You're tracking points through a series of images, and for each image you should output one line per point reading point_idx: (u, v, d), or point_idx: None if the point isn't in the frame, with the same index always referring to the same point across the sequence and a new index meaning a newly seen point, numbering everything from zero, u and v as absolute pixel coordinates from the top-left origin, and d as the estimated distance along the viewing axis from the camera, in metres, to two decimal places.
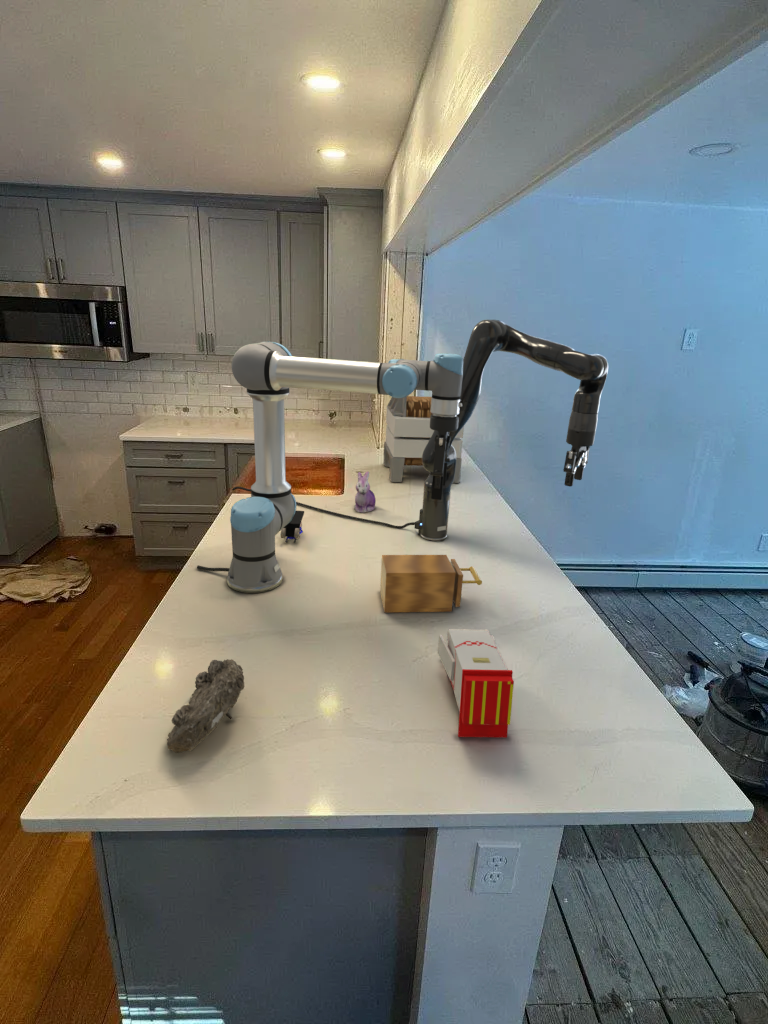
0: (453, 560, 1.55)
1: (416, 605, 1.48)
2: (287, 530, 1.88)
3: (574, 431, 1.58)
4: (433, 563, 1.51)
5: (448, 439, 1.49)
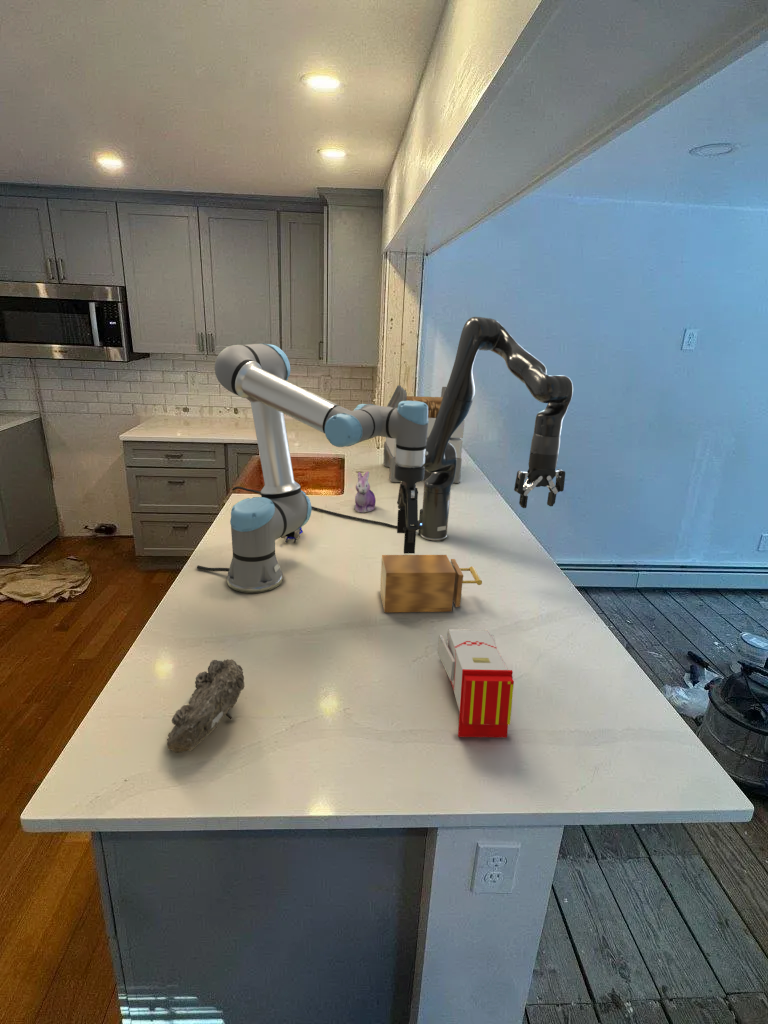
0: (453, 560, 1.55)
1: (416, 605, 1.48)
2: None
3: (530, 452, 1.54)
4: (433, 563, 1.51)
5: (416, 489, 1.42)
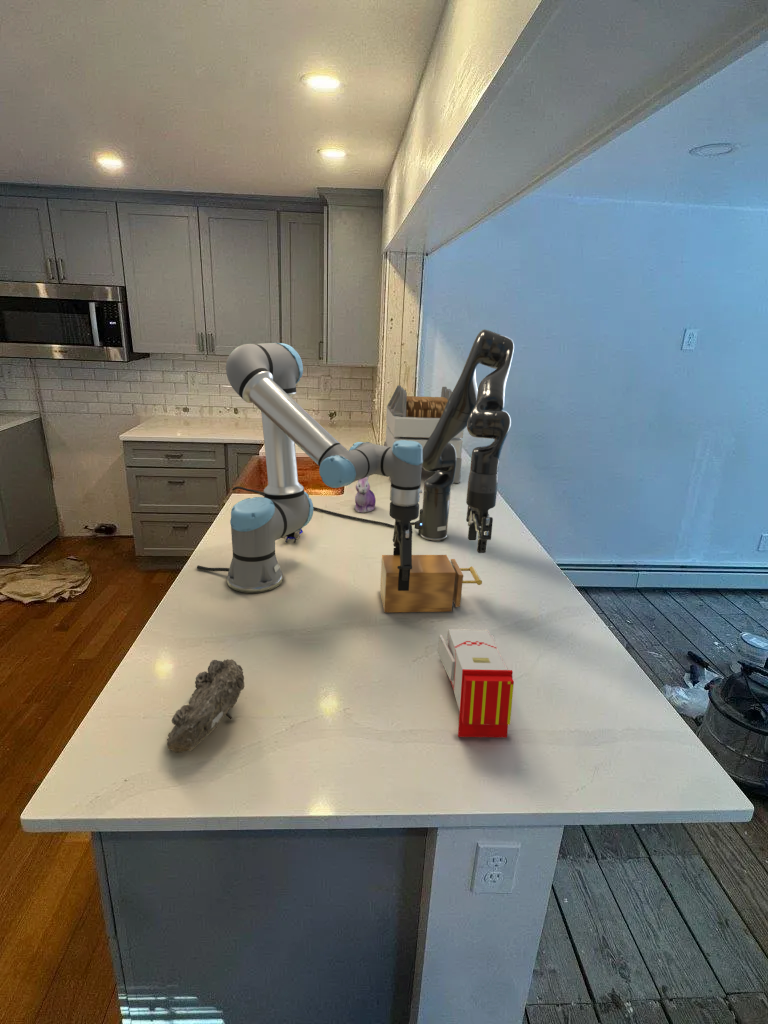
0: (453, 560, 1.55)
1: (416, 605, 1.48)
2: None
3: None
4: (433, 563, 1.51)
5: (410, 527, 1.44)
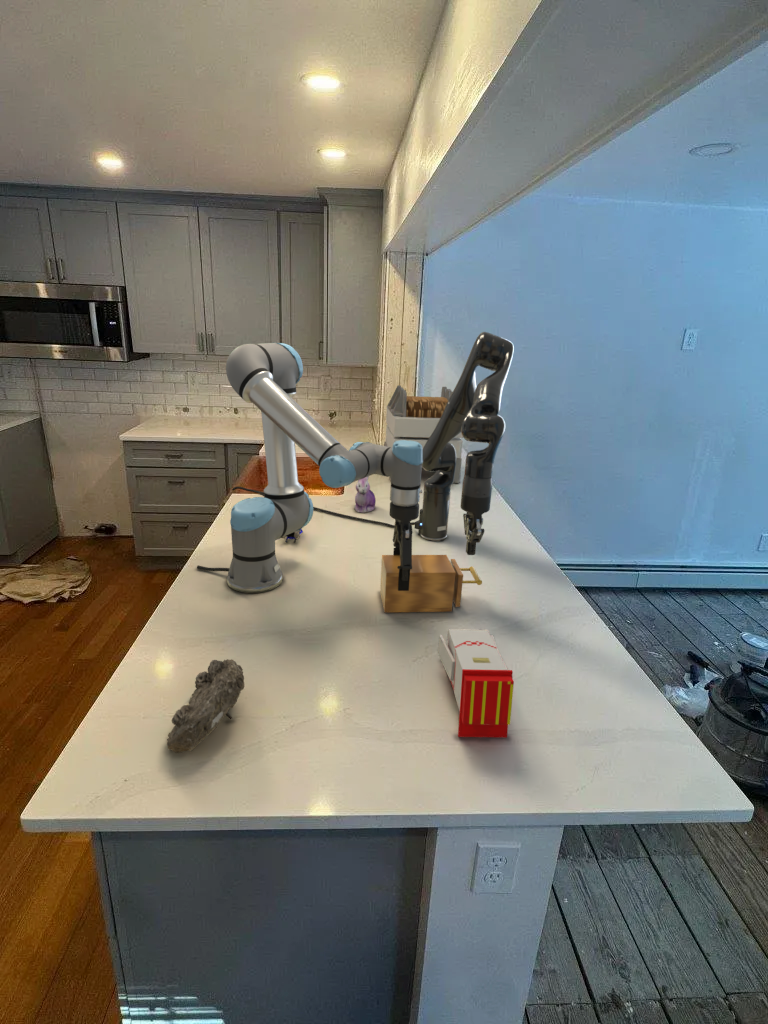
0: (453, 560, 1.55)
1: (416, 605, 1.48)
2: None
3: None
4: (433, 563, 1.51)
5: (410, 527, 1.44)
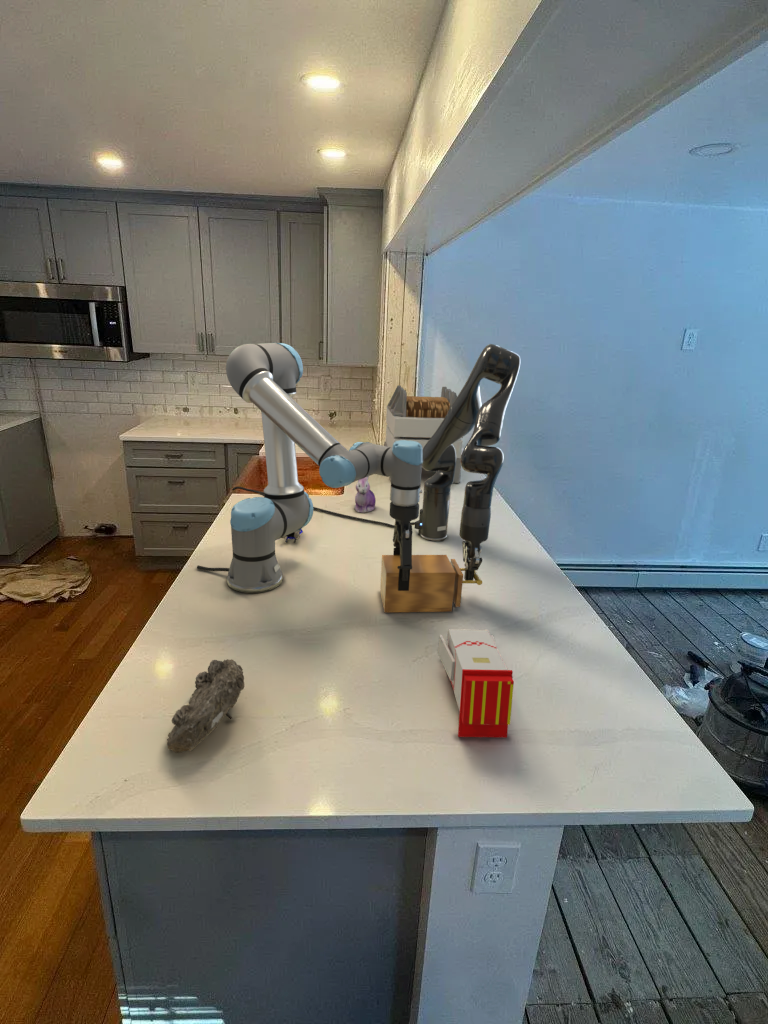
0: (453, 560, 1.55)
1: (416, 605, 1.48)
2: None
3: None
4: (433, 563, 1.51)
5: (410, 527, 1.44)
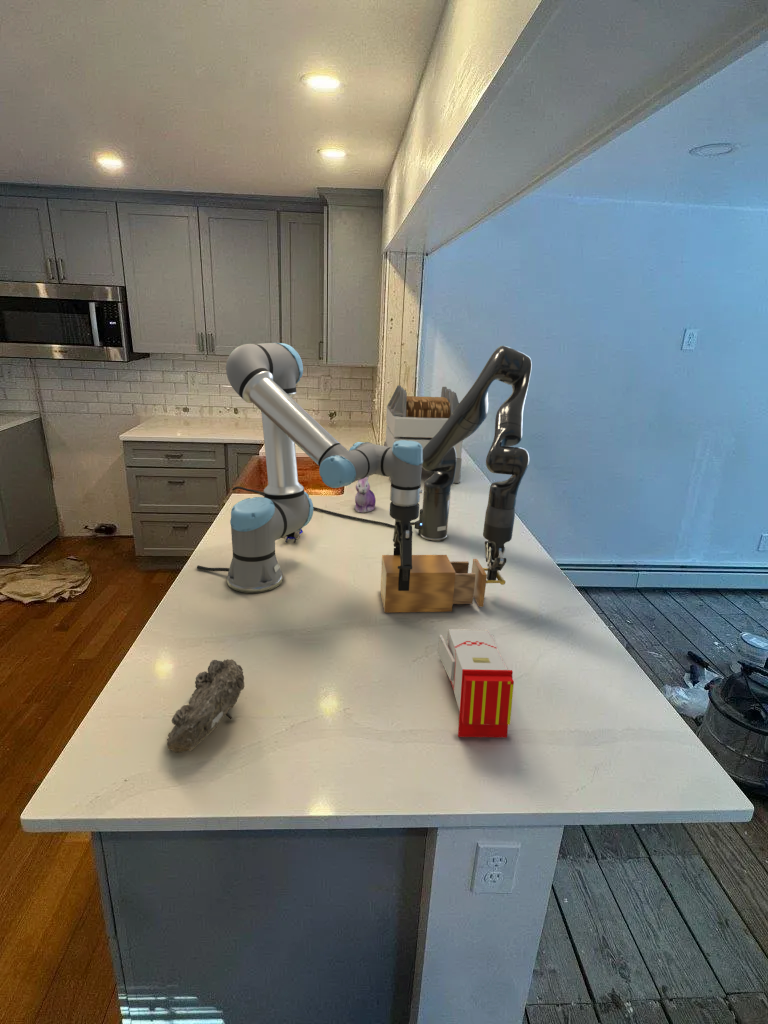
0: (475, 560, 1.56)
1: (416, 605, 1.48)
2: None
3: None
4: (433, 563, 1.51)
5: (410, 527, 1.44)
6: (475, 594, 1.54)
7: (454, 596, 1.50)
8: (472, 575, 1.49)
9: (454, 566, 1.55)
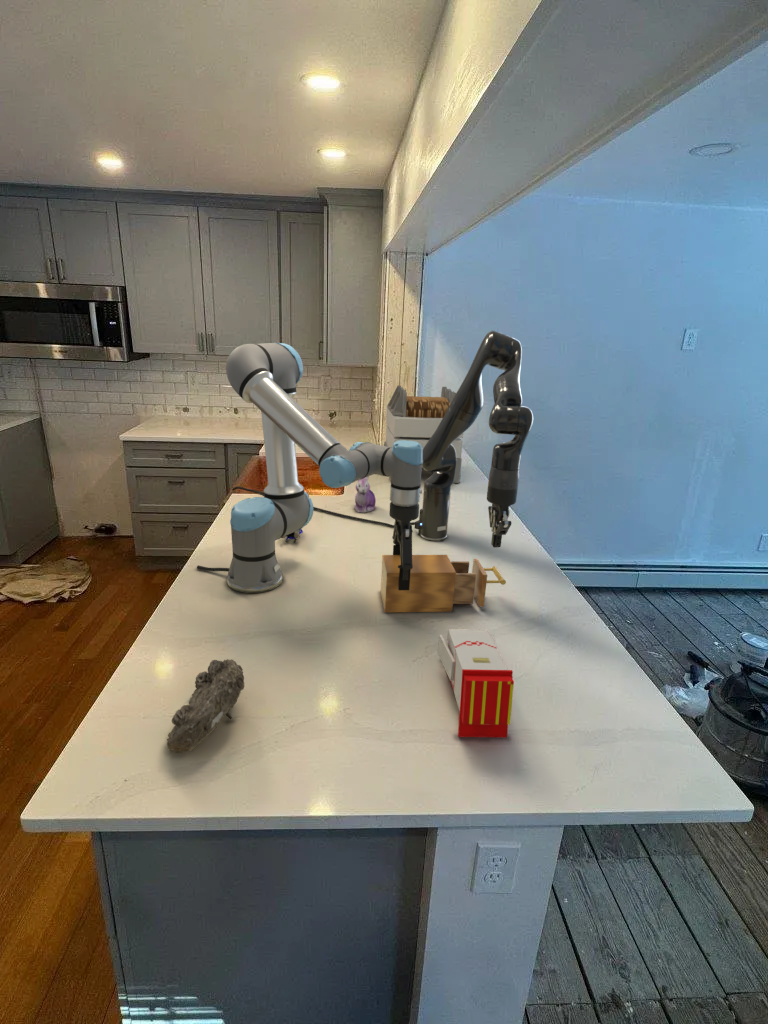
0: (476, 560, 1.56)
1: (417, 605, 1.48)
2: None
3: None
4: (433, 563, 1.51)
5: (410, 527, 1.45)
6: (475, 594, 1.54)
7: (454, 596, 1.50)
8: (473, 575, 1.49)
9: (454, 566, 1.55)
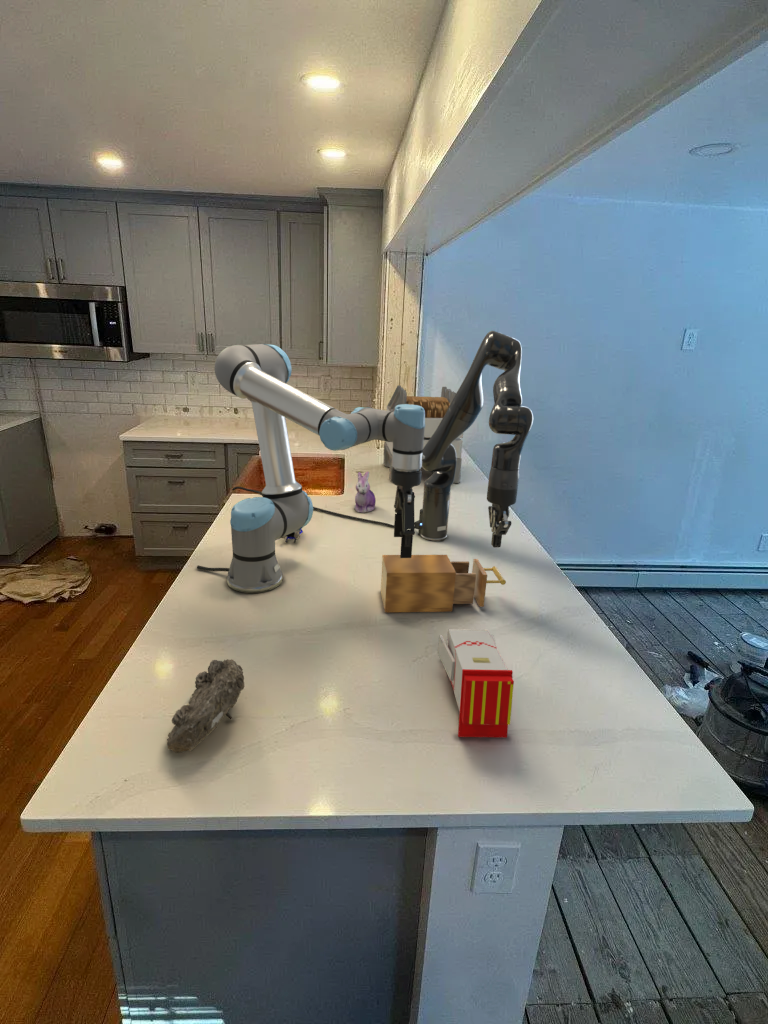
0: (476, 560, 1.56)
1: (417, 605, 1.48)
2: None
3: None
4: (433, 563, 1.51)
5: (412, 493, 1.41)
6: (475, 594, 1.54)
7: (454, 596, 1.50)
8: (473, 575, 1.49)
9: (454, 566, 1.55)
